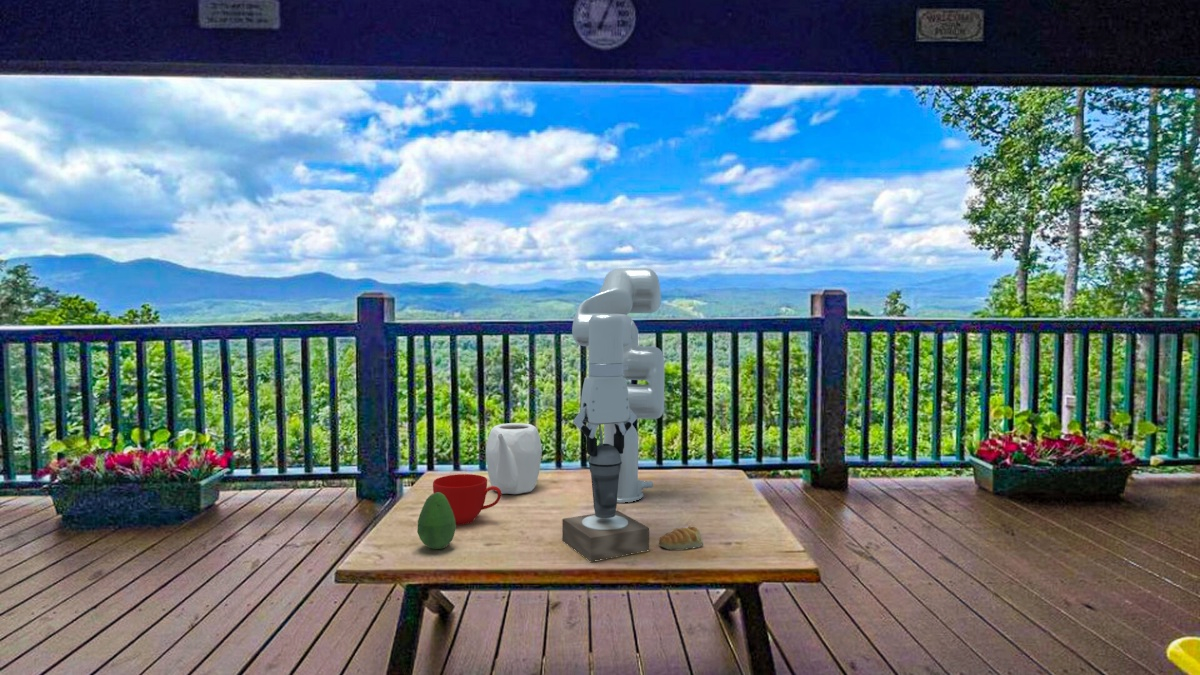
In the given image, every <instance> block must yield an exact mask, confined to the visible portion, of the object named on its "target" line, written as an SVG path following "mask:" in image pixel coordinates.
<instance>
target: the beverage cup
mask: <svg viewBox="0 0 1200 675" xmlns="http://www.w3.org/2000/svg"><path fill="white" fill-rule="evenodd" d="M598 431H599V432H598V434H599V440H600V444H597V456H596V457H593V456H591V455H589V459H588V465H589V466H588V467H589V472H590V476H591V486H592V488H591V489H592V500H593V509H594V514H595V516H596V517H599V518H612V517H614V516H615V512H616V511H617V506H618V505H617V504H618V503H617V494H618V481H619V473H620V468H621V464H622V462H621V457H620V454H619V452H618V450H617V449H616V448H615V447H614V446H612V445H610V444H604V438H603V433H602V424H600V425H598Z"/></svg>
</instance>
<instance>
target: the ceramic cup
mask: <svg viewBox="0 0 1200 675" xmlns="http://www.w3.org/2000/svg"><path fill="white" fill-rule="evenodd" d="M495 490H496V491H495ZM489 491H495V492H496V493H497V498H496V499H495V500H494V501H493V502H492V503H490V504H486V505H485V502H486V499H487V498H486V497H487V494H488V492H489ZM432 492H433V493H436V492H440V493H442V494H443V495H445V497H446V498H447V500H448V502H449V504H450V507H451V509H452V511H453V514H454V517H455V523H456V526H464V525H468V524H471V523H473V522H474V521H475V519H476V518H478V516H479V514H480V513H481V511H483V510H487V509H490V508H492V507H494V506H495V505H497V504H498V503H499V502H500V501H501V497H502V494H501V491H500V489H499V488H498V487H495V486H489V487H488V479H487V477H485V476H484V475H479V474H473V473H469V474H467V473H465V474H464V473H463V474H459V473H458V474H449V475H444V476H440V477H438V478H436V479H434V480H433V482H432ZM433 493H432V494H433Z"/></svg>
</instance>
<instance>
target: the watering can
mask: <svg viewBox="0 0 1200 675" xmlns="http://www.w3.org/2000/svg"><path fill="white" fill-rule="evenodd" d="M538 430H539V429H538V427H536V426H535V425H533V424H529V423H523V422H509V423H501V424H500V423H499V424H497V425H494V426H493V427H492V428H491V430H490V432H489V433H488V437H487V440H486V441H487V442H486V448H485V457H486V465H487V468H486V469H487V475H488V479H489V483H490V487H492V486H495V487H498V488H499V489H500V491H501V495H504V494H505V495H507V494H509V495H520V494H524V493H530V492H532V491H533V490H534V489H535V488H536V485H537V482H538V478H539V476H540V475H539V474H540V468H541V461H542V453H543V447H542V442H541V437H540V434H539V431H538ZM494 491H495V492H497V491H496V490H494Z"/></svg>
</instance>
